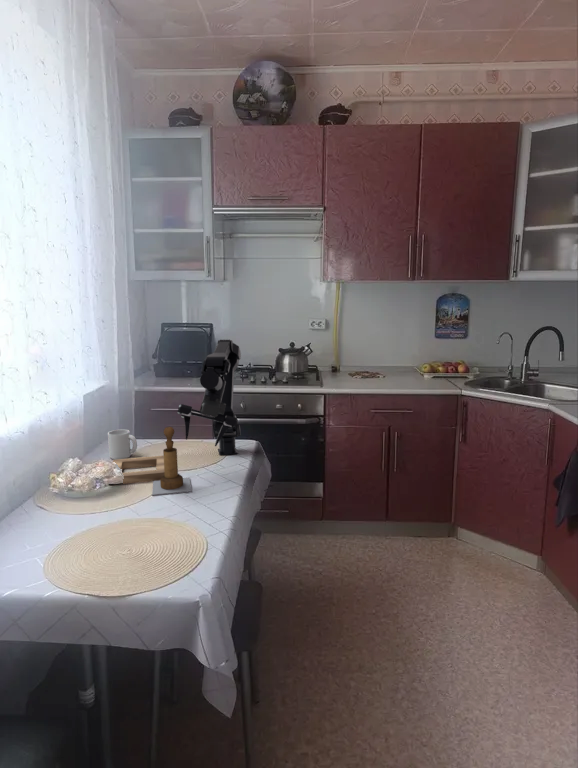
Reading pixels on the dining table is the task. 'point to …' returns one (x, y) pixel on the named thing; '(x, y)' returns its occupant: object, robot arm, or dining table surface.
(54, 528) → the dining table surface
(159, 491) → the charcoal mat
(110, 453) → the cup
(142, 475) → the walnut holder
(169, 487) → the wooden pepper mill
